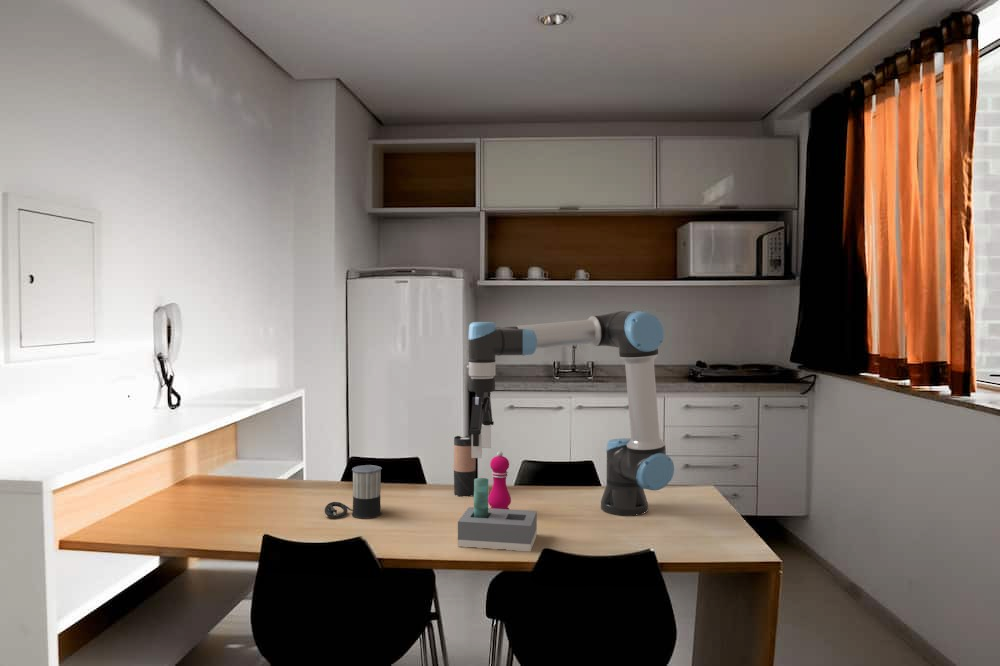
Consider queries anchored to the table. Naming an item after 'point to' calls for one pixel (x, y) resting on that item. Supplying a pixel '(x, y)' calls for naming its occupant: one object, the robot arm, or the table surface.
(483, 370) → the robot arm
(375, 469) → the milk frother
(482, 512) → the pin
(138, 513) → the table surface
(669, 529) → the table surface
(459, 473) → the travel mug
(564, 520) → the table surface
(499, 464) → the pepper mill
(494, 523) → the hole block
